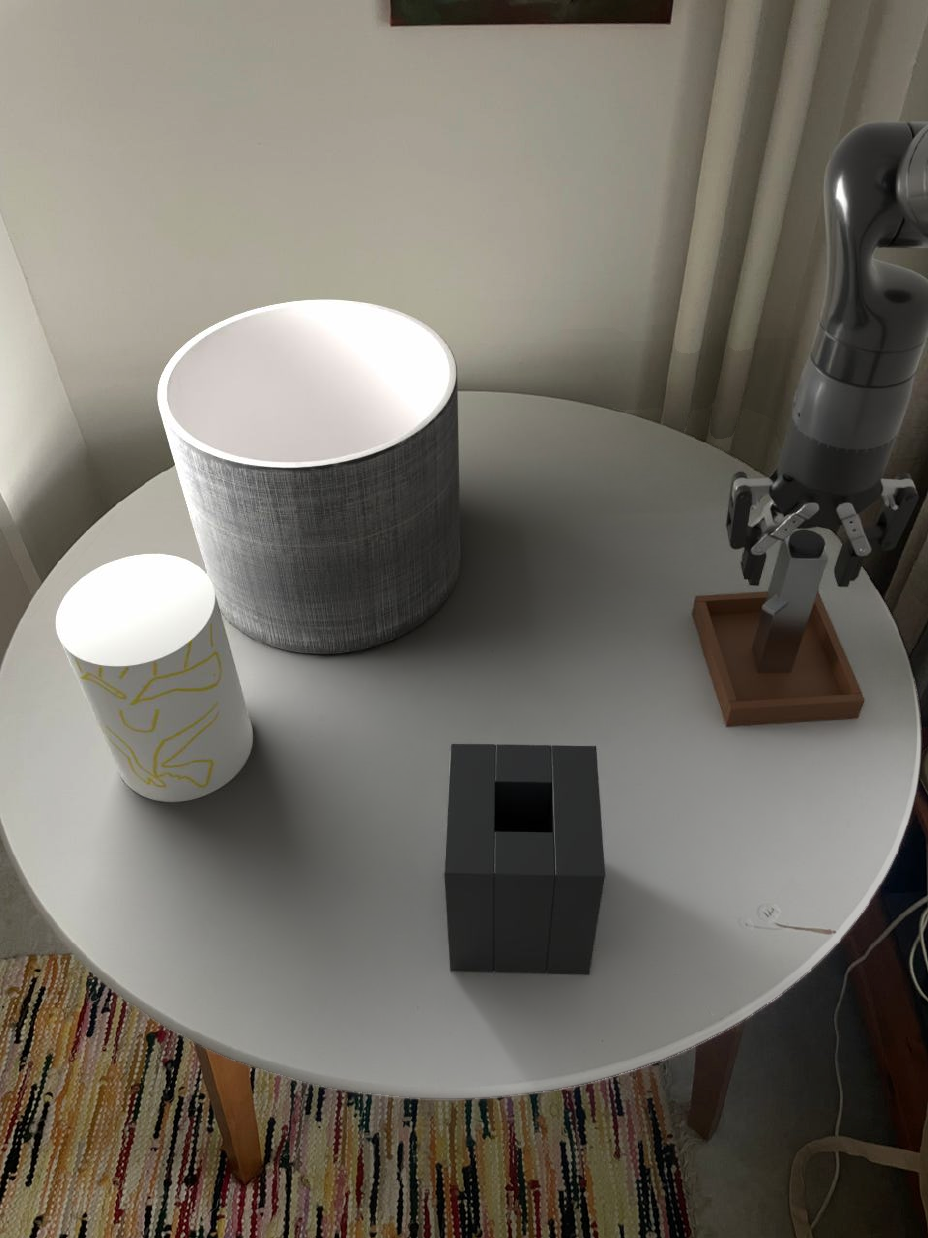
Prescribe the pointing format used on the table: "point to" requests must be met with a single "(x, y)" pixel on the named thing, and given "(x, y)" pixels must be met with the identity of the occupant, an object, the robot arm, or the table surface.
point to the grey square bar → (789, 601)
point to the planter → (320, 470)
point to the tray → (773, 698)
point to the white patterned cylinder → (158, 674)
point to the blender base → (523, 858)
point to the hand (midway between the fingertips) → (796, 579)
